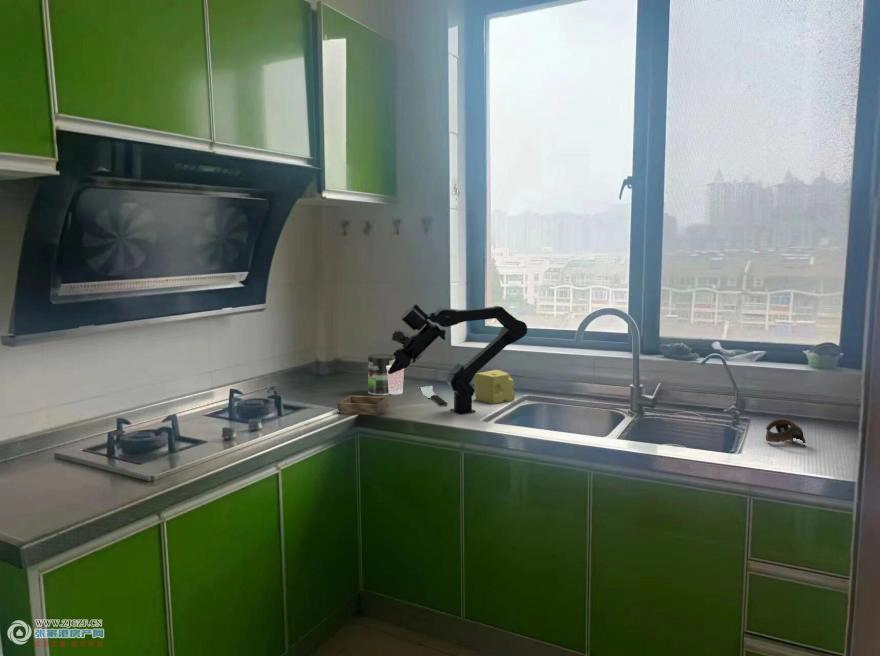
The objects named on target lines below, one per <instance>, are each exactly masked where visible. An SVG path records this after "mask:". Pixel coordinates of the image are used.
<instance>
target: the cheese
mask: <svg viewBox="0 0 880 656" xmlns="http://www.w3.org/2000/svg"><path fill="white" fill-rule="evenodd" d="M474 377H475V378H474V389H475V391H474V396H475V400H477V401H480V400H481V402H485V403H489V404H492V405H496V404H500V403H503V402H506V403H507V401H508V402H513V401H512V400H514V401H515V397H516V394H515V390H514V387H515V382H514V381H515V380H514V379H513V378H512V377H511V375H510V374H509V373H508V372H505V371H503V370H499V369H492V370H489V371H484V372H483V371H482V372H477V373H476V374H475V376H474Z"/></svg>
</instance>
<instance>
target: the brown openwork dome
mask: <svg viewBox="0 0 880 656" xmlns="http://www.w3.org/2000/svg"><path fill="white" fill-rule="evenodd" d="M774 427H775V430H776V431H777V432H773V431H771V430H772V429H773V428H774ZM765 429H766V434H765V441H766V440H767V441H769V443H772V442H773V443H780V442H785V441H790V442H791V441H793V438H796V439H800V440H802V441H803V443H806V441H807V440H806V438H805V436H804V432H803V429H802V428H801V426H799V425H797V423H795V422H794V421H793V420H791V419H789V418H778V419H775V420H773V421H771V422H770V423H768V424H767V425H766V427H765ZM767 441H766V442H767ZM806 444H807V443H806Z"/></svg>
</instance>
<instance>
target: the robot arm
mask: <svg viewBox="0 0 880 656" xmlns="http://www.w3.org/2000/svg"><path fill="white" fill-rule="evenodd" d="M400 319H401V321H403V322H404V323H405V324H406V325H407V326H408V327H409V328H411V329H412V331H416V330H417V331H418V332H417V333H416V334H414V335H411V334H409V333H407V332H406V331H404V330H401V329H399V328H397V329H395V330H394V332H393V333H392V337H391V340H392V341H394V342H396V343H399V344H401V345H402V346H401V347H400V348H397V349H396V350H395V351H394V352H393V354H392V355H394V356H395V361H394V362H393V364H392V366H391V367H390V369H389V371H388V373H389V374H392V373H395V372H397V371H399V370H402V369H404V368H405V369H407V368H409V367H410V366H411V365H412V364H414V363H416V362H417V361H418V360H420V358H422V357H423V353H424V352H425V351H426V350H427V349H429V348H430V346H431V345H433V344H434V342H436V340H437V339H438V338H441V339H442V340H443V341H446V333H447V332H446V329H441V328H440V327H443V328H448V327H452V326H456V325H458V324H461V323H464V322H473V321H483V320H493V319H495V320H497V322H498V323H500V325H502V328H501V330H500V331H499V333H498V335H497V336H496V337H495V338H494V339H493V340H491V341H490V342H489V343H488V344H486V346H485V347H484V348H482V349H481V350H480V351H479V352H478V353H477V354H476V355H475V356H474V357H473V358H471V359H470V360H469V361H468V362H467V363H465V364H463V365H462V364H461V363H456V365H455V366H454V367H453V368H452V369H449V370H448V372H449V373H448V374H447V376H446V382H447V384H448V386H449V387H451V389H452V391H453V408H450V409H449V411H450V412H453V413H454V414H458V415H464V414H465V415H466V414H472V413H476V410H475V409H473V402H472V401H473V396H474V395H475V387H473V386H471V382H472V381H473V379H474V377H475V376H476V373H479V371H481V369H482V368H484V367H485V366H486V365H487V364H488V363H489V362H490V361H491V360H492V359H494V358H495V356H497V355H498V354H499V353H500V352H501V351H503V350H504V349H505V348H506V347H507V346H509V345H511V344H513V343H516V342H518V341H520V340H521V339H523V338H524V337H526V335H527V334H528V325H527V323H525V322H524V321H523V320H519V319H517V318H516V317H514V316H513V315H512V314H511V313H510V312H508V311H507V310H506V309H505V308H504V307H502V306H499V305H495V306H489V307H478V308H468V309H454V308H447V307H446V308H445V307H440V308H438V309H436V310H435V312H431V313H426V312H425V311H423V310H422V309H421V307H419V305H418V304H416V303H414V304H413V306H411V307H409V308H408V310H405V311H404V312H403V314H402V316H401V318H400ZM432 323H435V324H432ZM436 324H437V325H436ZM439 326H440V327H439ZM405 369H404V370H405Z"/></svg>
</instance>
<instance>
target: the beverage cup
mask: <svg viewBox="0 0 880 656" xmlns="http://www.w3.org/2000/svg"><path fill="white" fill-rule="evenodd" d="M391 366H392V365H388V366H386V369H387V376H388V391H389V394H391V395H401V394H403V390H404V389H403V388H404V377H405V375H404V374H405V369H406V368H404V369H402V370H399V371H397V372H395V373H392V374H389V373H388V371H389V369H390V367H391Z"/></svg>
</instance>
